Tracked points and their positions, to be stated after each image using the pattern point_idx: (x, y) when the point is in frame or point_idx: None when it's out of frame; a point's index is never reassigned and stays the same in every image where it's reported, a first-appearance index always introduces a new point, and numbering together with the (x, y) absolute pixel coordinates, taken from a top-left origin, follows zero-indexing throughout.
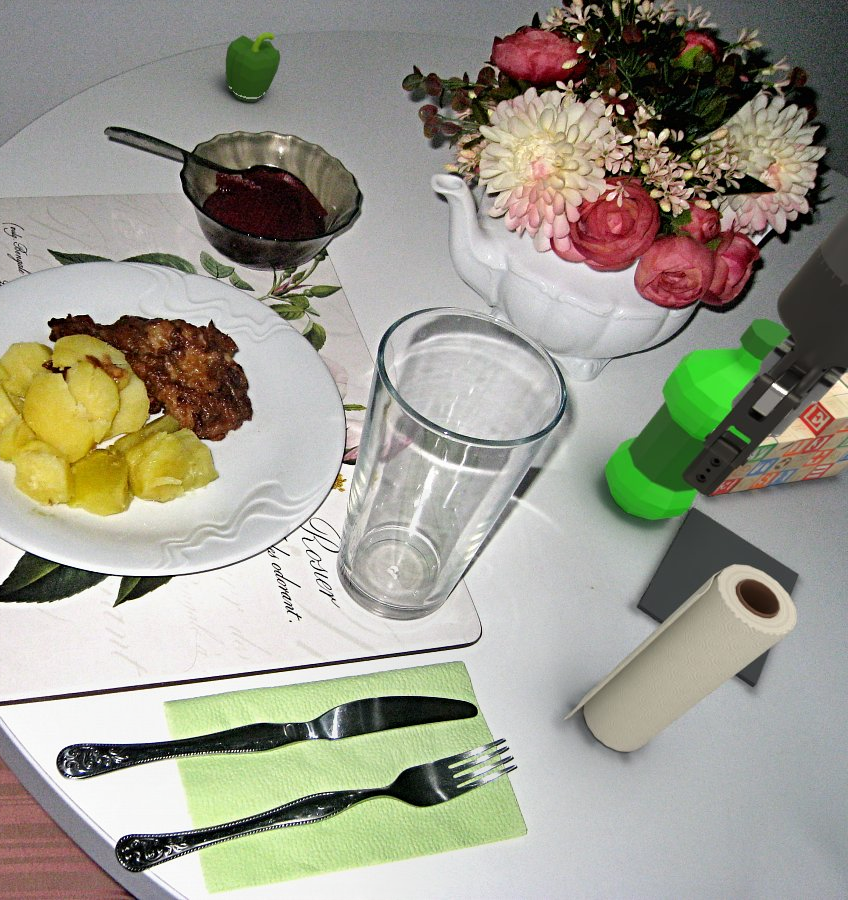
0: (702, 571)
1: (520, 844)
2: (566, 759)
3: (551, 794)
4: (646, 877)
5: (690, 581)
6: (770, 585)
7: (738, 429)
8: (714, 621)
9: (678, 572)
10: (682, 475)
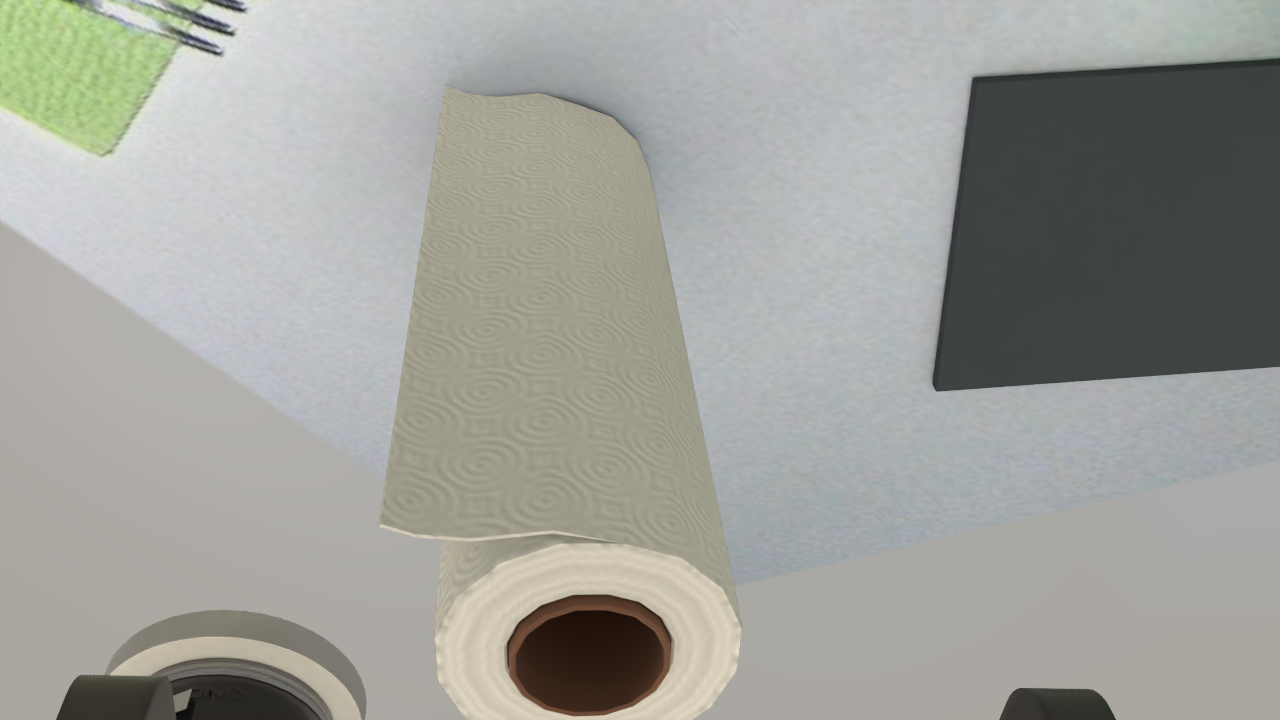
0: (1229, 171)
1: (66, 158)
2: (359, 141)
3: (243, 155)
4: (278, 382)
5: (1167, 159)
6: (697, 662)
7: (1012, 710)
8: (450, 546)
9: (1180, 121)
10: (76, 681)
